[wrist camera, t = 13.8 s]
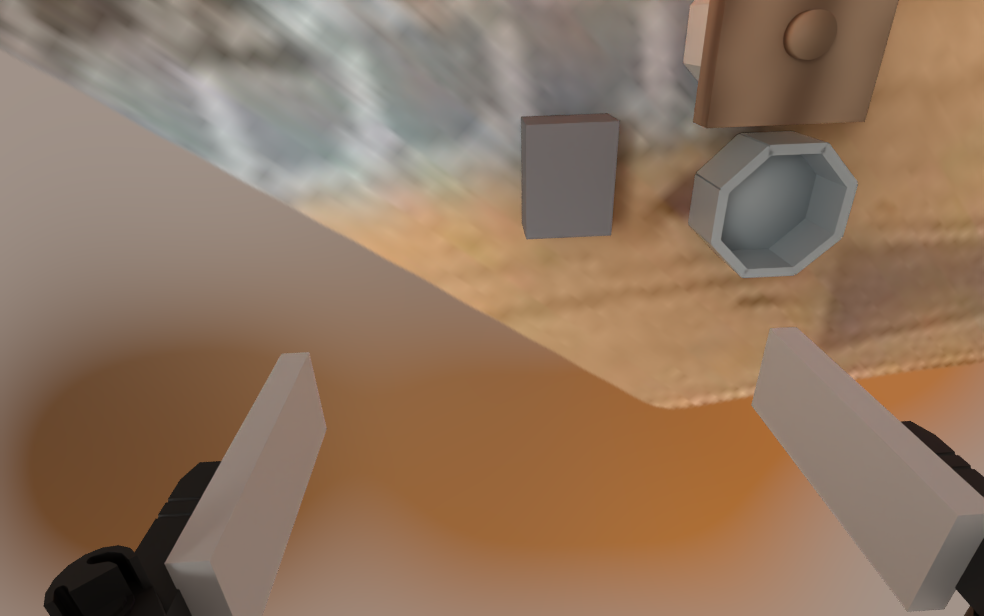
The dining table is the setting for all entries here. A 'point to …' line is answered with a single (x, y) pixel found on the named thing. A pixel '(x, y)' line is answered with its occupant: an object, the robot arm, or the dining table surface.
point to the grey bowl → (772, 202)
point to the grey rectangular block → (568, 175)
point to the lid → (790, 61)
